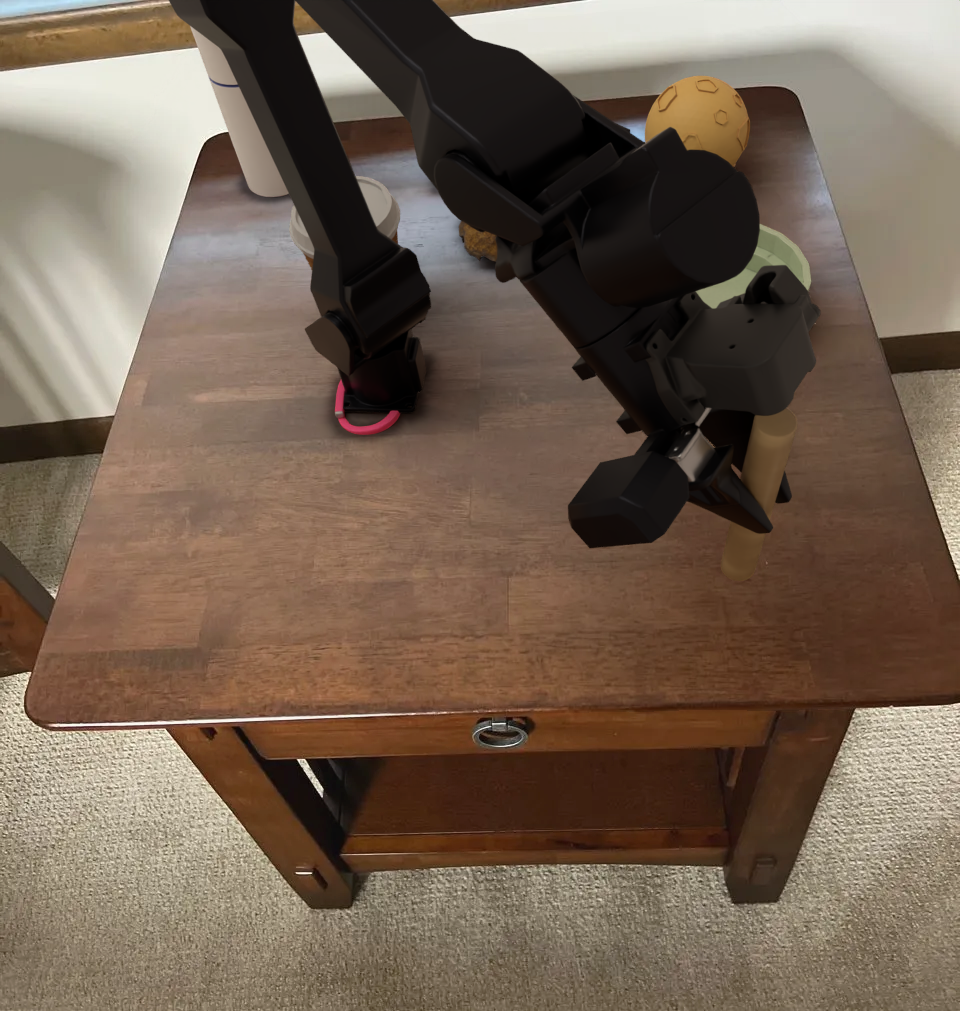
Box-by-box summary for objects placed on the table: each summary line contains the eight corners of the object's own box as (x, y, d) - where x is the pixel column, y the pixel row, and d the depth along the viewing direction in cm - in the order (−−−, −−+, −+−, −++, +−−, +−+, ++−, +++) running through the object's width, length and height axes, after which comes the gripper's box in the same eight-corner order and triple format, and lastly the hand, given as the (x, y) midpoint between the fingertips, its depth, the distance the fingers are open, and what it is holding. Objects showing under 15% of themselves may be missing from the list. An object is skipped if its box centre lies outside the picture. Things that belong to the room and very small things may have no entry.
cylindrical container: (236, 193, 99) (143, -53, 79) (263, 153, 103) (181, -92, 82) (296, 200, 97) (217, -50, 77) (321, 159, 101) (252, -90, 81)
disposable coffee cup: (406, 353, 83) (381, 248, 73) (307, 345, 85) (269, 242, 75) (429, 281, 88) (409, 174, 78) (336, 275, 90) (304, 169, 80)
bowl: (636, 369, 79) (638, 331, 76) (638, 257, 87) (640, 218, 83) (807, 371, 77) (818, 332, 73) (794, 257, 85) (803, 217, 81)
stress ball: (628, 159, 96) (631, 67, 87) (717, 136, 96) (728, 43, 88) (664, 216, 90) (671, 124, 82) (758, 191, 91) (775, 98, 83)
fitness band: (344, 371, 84) (340, 360, 82) (407, 368, 83) (404, 356, 82) (334, 441, 79) (330, 430, 78) (401, 438, 78) (398, 426, 77)
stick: (721, 581, 60) (755, 436, 47) (719, 552, 61) (752, 404, 49) (756, 582, 59) (800, 437, 47) (753, 553, 61) (795, 404, 48)
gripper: (623, 398, 38) (823, 644, 43) (812, 152, 46) (963, 383, 51) (486, 440, 48) (662, 637, 52) (661, 230, 55) (801, 419, 60)
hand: (775, 516), depth 54 cm, fingers closed on stick, 2 cm apart
